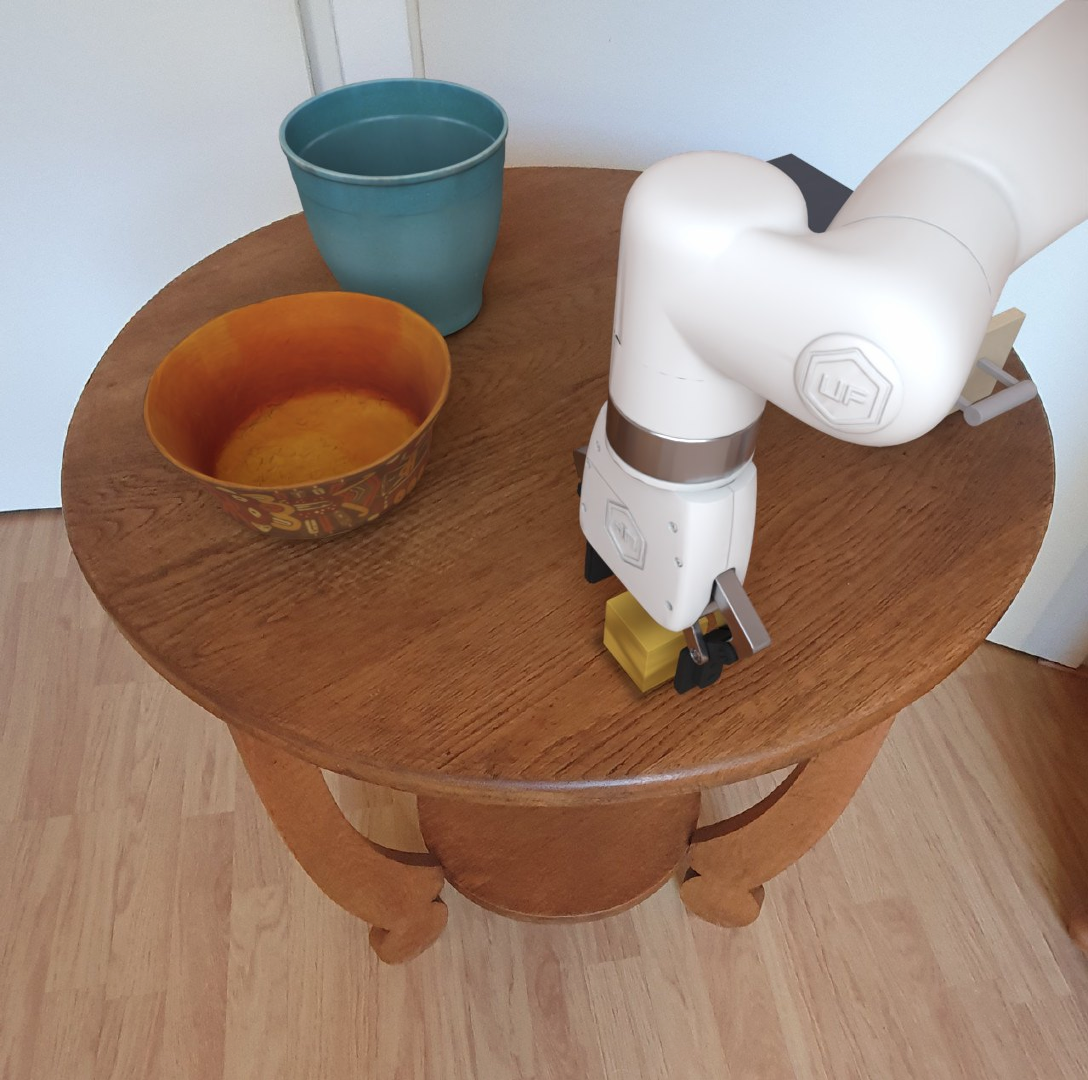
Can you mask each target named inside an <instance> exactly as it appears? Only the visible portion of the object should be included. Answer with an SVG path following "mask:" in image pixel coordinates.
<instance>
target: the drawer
mask: <svg viewBox="0 0 1088 1080" xmlns="http://www.w3.org/2000/svg"><path fill="white" fill-rule="evenodd" d="M1026 317H1027V313H1025V312H1024V311H1022V310H1020V309H1019V308H1017V307H1016V306H1013V307H1011V308H1008V309H1006V310H1004V311H1001V312H1000V313H997V314H995V315H992V318H991V320H990V323H989V325H988V328H987V331H986V334H985V336H984V339H983V341H982V344H981V346H980V349H979V351H978V354H977V356H976V359H975V361H974V364H973V366H972V369H971V371H970V374H969V376H968V379H967V381H966V384H965V386H964V388H963V390H962V392H961V394H960V396H959V398H958V399H957V401H956V403H955V404H954V406H953V407H952V409H951V410H950V411H949V413H948V414H947V415H946V417H947V416H949V415H951V414H953V413H955V412H957V411H959V410H960V411H962V412H963V419H964V421H965V423H967V424H968V425H969V426H971V427H977V426H979V425H982V424H983V423H986V422H988V421H991V420H992V419H994V418H996V417H998V416H1000V415H1002V414H1004V413H1006V412H1009V411H1010V410H1013V409H1014V408H1017V407H1018V406H1020V405H1022V404H1025V403H1026V402H1028V401H1031V400H1032V399H1033V400H1034V399H1035V398H1036V397H1037V395H1038V386H1037V384H1036V383H1035V382H1034V381H1033V380H1032V379H1023V380H1021V381H1020V380H1019V379H1017V378H1015V376H1012V375H1011V374H1010V373H1008V372H1006V371H1005V370H1003V369H1004V366H1005V364H1006V361H1007V360H1008V357H1009V355H1010V353H1011V351H1012V348H1013V346H1014V344H1015V341H1016V339H1017V337H1018V335H1019V332H1020V330H1021V328H1022V325H1023V324H1024V322H1025V320H1026ZM997 382H999V383H1001V384H1002V385H1004V386H1005V387H1007V388H1005V389H1003V390H1000V391H998V392H996V393H994V394H992V393H993V390H994V388H995V386H996V384H997ZM877 447H878V448H882V447H883V446H877Z"/></svg>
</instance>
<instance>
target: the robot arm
mask: <svg viewBox="0 0 1088 1080" xmlns="http://www.w3.org/2000/svg"><path fill="white" fill-rule="evenodd" d="M853 191H854V192H853V193H852V194H851V196H850V197H849V198H848V200H847V201H846V202H845V204H844V205H843V206H842V208H841V209H840V210H839V212H838V213H837V215H836V216H835V217H834V219H833V220H832V222H831V223H830V225H829V226H828V228H827V229H826V231H825V232H823V233H814V232H812V231H811V230H810V229H809V228H808V215H807V207H806V202H805V200H804V197H803V195H802V193H801V191H800V189H799V187H798V186H797V185H796V183H795V182H794V181H793V180H792V179H791V178H790V177H789V176H787V175H786V174H785V173H784V172H782V171H781V170H780V169H778V168H777V167H775V166H773V165H772V164H770V163H767V162H766V160H763V159H760V158H757V157H754V156H751V155H748V154H744V153H739V152H734V151H727V150H726V151H725V150H712V149H711V150H694V151H692V150H691V151H687V152H681V153H677V154H673V155H670V156H668V157H665V158H663V159H660V160H659V161H656V162H654V163H653V164H652V165H650V166H648V167H647V168H646V169H645V170H644V171H643V172H642V173H640V175H638V177H637V178H636V179H635V180H634V181H633V183H632V185H631V187H630V189H629V191H628V193H627V194H626V198H625V200H624V204H623V209H622V217H621V226H620V235H619V236H620V237H619V249H618V262H617V274H616V284H615V285H616V286H615V287H616V288H615V297H614V299H615V300H614V312H613V323H612V336H611V337H612V338H611V339H612V340H611V348H610V349H611V350H610V363H609V374H608V375H609V376H608V390H607V400H606V401H605V402H604V403H603V405H602V406H601V408H600V410H599V412H598V415H597V417H596V419H595V423H594V425H593V429H592V432H591V435H590V439H589V443H588V444H587V443H586V444H585V445H582V446H580V447H578V448H575V449H573V450H572V458H573V463H574V467H575V471H576V476H577V478H578V479H579V480H580V482H578V483H577V486H576V494H577V496H578V497H579V498H580V499H579V526H580V529H581V531H582V533H583V536H584V537H585V539H586V543H585V557H584V573H583V574H584V575H583V578H584V579H585V580H586V581H587V583H588V584H593V585H595V584H597V583H600V582H602V581H604V580H605V579H608V578H610V577H612V576H616V577H617V579H618V580H619V581H620V582H621V584H622V585H623V586H624V587H625V588H626V589H627V591H628V590H629V591H630V593H631V594H632V595H633V596H634V597H635V598H636V600H637V601H638V602H639V603H640V604H641V605H642V607H643V608H644V609H645V610H646V611H647V612H648V613H649V615H650V616H651V617H652V618H653V619H654V620H655V621H656V622H657V623H659V624H660V625H661V626H663V627H664V628H666V629H668V630H670V631H673V632H679V631H681V630H682V631H683V634H684V637H685V640H686V643H687V646H686V647H684V648H683V649H682V650H681V651H680V654H679V659H678V663H677V668H676V673H675V676H674V677H673V689H674V690H675V691H676V692H677V694H678V695H684V694H685V693H688V692H690V691H691V690H693V689H694V688H696V687H697V688H699V690H704V689H706V688H708V687H710V686H712V685H713V684H715V683H716V682H717V681H718V680H719V679H720V678H721V675H722V672H723V669H724V665H727V666H731V665H733V664H734V663H736V662H740V661H742V660H746V659H748V658H750V657H752V656H754V655H757V654H758V653H760V652H762V651H764V650H765V649H767V648H770V647H771V646H772V638H771V636H770V634H769V633H768V631H767V628H766V627H765V625H764V623H763V621H762V620H761V618H760V616H759V614H758V612H757V611H756V609H755V607H754V605H753V603H752V601H751V600H750V597H749V596H748V594H747V591H746V590H745V588H744V587H743V586H744V583H745V579H746V575H747V572H748V567H749V562H750V557H751V553H752V547H753V541H754V533H755V525H756V524H755V523H756V515H757V514H756V512H757V497H758V496H757V495H758V475H757V474H758V469H757V467H756V465H755V463H754V461H753V459H754V455H755V451H756V447H757V446H756V445H757V442H758V438H759V433H760V429H761V426H762V421H763V417H764V413H765V409H766V405H767V401H768V402H770V403H772V404H773V405H774V406H776V407H778V408H780V409H781V410H783V411H784V412H786V413H787V414H789V415H791V416H792V417H793V418H796V419H797V420H799V421H801V422H802V423H804V424H806V425H808V426H810V427H812V428H814V429H815V430H817V431H819V432H820V433H821V432H822V433H824V434H826V435H829V436H830V437H833V438H836V439H838V440H841V441H844V442H847V443H852V444H856V445H860V446H866V447H878V446H882V447H891V446H896V445H897V446H898V445H902V444H906V443H909V442H911V441H914V440H916V439H918V438H920V437H922V436H924V435H926V434H928V432H931V431H932V430H933V429H934V428H935V427H937V425H938V424H940V423H941V422H942V421H944V419H945V418H946V417H947V416H948V415H947V414H948V413H949V411H950V410H951V409H952V407H953V406H954V404H955V403H956V401H957V399H958V398H959V396H960V394H961V392H962V390H963V388H964V386H965V384H966V381H967V379H968V376H969V374H970V371H971V369H972V366H973V364H974V361H975V359H976V356H977V354H978V351H979V349H980V346H981V344H982V341H983V339H984V336H985V334H986V331H987V328H988V325H989V323H990V320H991V318H992V317H993V316H994V312H995V310H996V308H997V305H998V302H999V300H1000V298H1001V296H1002V293H1003V290H1004V288H1005V286H1006V285H1007V282H1008V280H1009V277H1010V276H1011V275H1012V274H1013V273H1014V272H1016V271H1017V270H1018V269H1019V268H1021V267H1022V266H1023V265H1024V264H1025V263H1027V262H1028V261H1029V260H1031V259H1032V258H1033V257H1034V256H1036V255H1038V254H1039V253H1040V252H1042V251H1043V250H1045V249H1047V248H1048V247H1049V246H1050V245H1052V244H1053V243H1055V242H1056V241H1057V240H1059V239H1061V237H1063V236H1065V235H1066V234H1068V233H1069V232H1070V231H1072V230H1073V229H1075V228H1076V227H1078V226H1079V225H1081V224H1082V223H1084V222H1085V221H1087V220H1088V0H1063V1H1062V2H1061V3H1059V4H1058V5H1056V6H1055V7H1054V8H1053V9H1052V10H1051V11H1050V12H1048V13H1047V14H1046V15H1044V16H1043V17H1042V18H1041V19H1039V20H1038V21H1037V22H1036V23H1035V24H1034V25H1032V26H1031V27H1030V28H1029V29H1028V30H1026V31H1025V32H1024V33H1023V34H1021V35H1020V36H1019V37H1018V38H1017V39H1016V40H1014V41H1013V42H1012V43H1011V44H1009V46H1008V47H1006V48H1005V49H1004V50H1003V51H1001V52H1000V53H999V54H997V56H996V57H994V59H993V60H991V61H990V62H988V64H987V65H985V66H984V67H983V68H982V69H981V70H980V71H979V72H977V74H975V75H974V76H973V77H972V78H971V79H970V80H969V81H968V82H967V83H965V85H963V86H962V87H961V88H960V89H959V90H957V91H956V92H955V93H954V94H953V95H952V96H951V97H950V98H949V99H947V100H946V101H945V103H943V104H941V106H940V107H939V108H937V109H936V110H935V111H934V112H933V113H932V114H931V115H930V116H929V117H927V119H926V120H924V121H922V123H921V124H920V125H918V127H917V128H915V129H914V130H913V131H912V132H911V133H910V134H909V135H908V136H907V137H905V138H904V140H902V141H901V142H900V143H899V144H898V145H896V146H895V148H894V149H892V150H891V151H890V152H889V153H888V154H887V155H886V156H885V157H884V158H883V159H882V160H881V161H879V163H878V164H876V166H875V167H874V168H873V169H871V171H870V172H869V173H868V174H867V175H866V176H865V177H864V178H863V179H862V180H861V182H860V183H859V184H858V185H857V187H856V188H854V190H853ZM946 415H947V416H946ZM712 613H713V617H714V619H715V622H716V626H717V627H716V628H714V629H712V630H710V631H709V632H706V634H704V635H703V633H702V630H701V627H700V624H699V621H698V620H699V619H701V618H703V617H706V616H709V615H710V614H712Z"/></svg>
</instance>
